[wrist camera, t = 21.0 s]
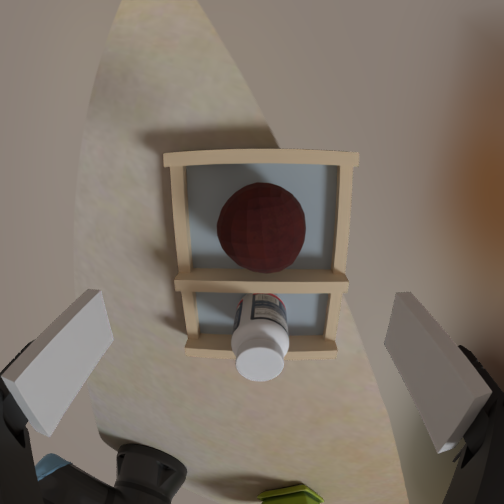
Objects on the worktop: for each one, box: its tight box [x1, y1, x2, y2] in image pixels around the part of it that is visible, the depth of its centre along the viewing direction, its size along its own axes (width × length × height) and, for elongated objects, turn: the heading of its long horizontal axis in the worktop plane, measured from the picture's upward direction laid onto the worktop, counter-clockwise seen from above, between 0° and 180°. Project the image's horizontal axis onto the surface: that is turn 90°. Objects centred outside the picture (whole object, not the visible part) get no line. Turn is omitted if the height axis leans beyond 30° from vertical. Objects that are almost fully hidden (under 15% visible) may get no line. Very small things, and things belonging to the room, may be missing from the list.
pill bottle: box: [231, 293, 289, 381], centre depth 27 cm, size 5×5×9 cm
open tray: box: [163, 149, 359, 360], centre depth 28 cm, size 16×21×4 cm
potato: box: [217, 182, 306, 274], centre depth 24 cm, size 7×8×7 cm
